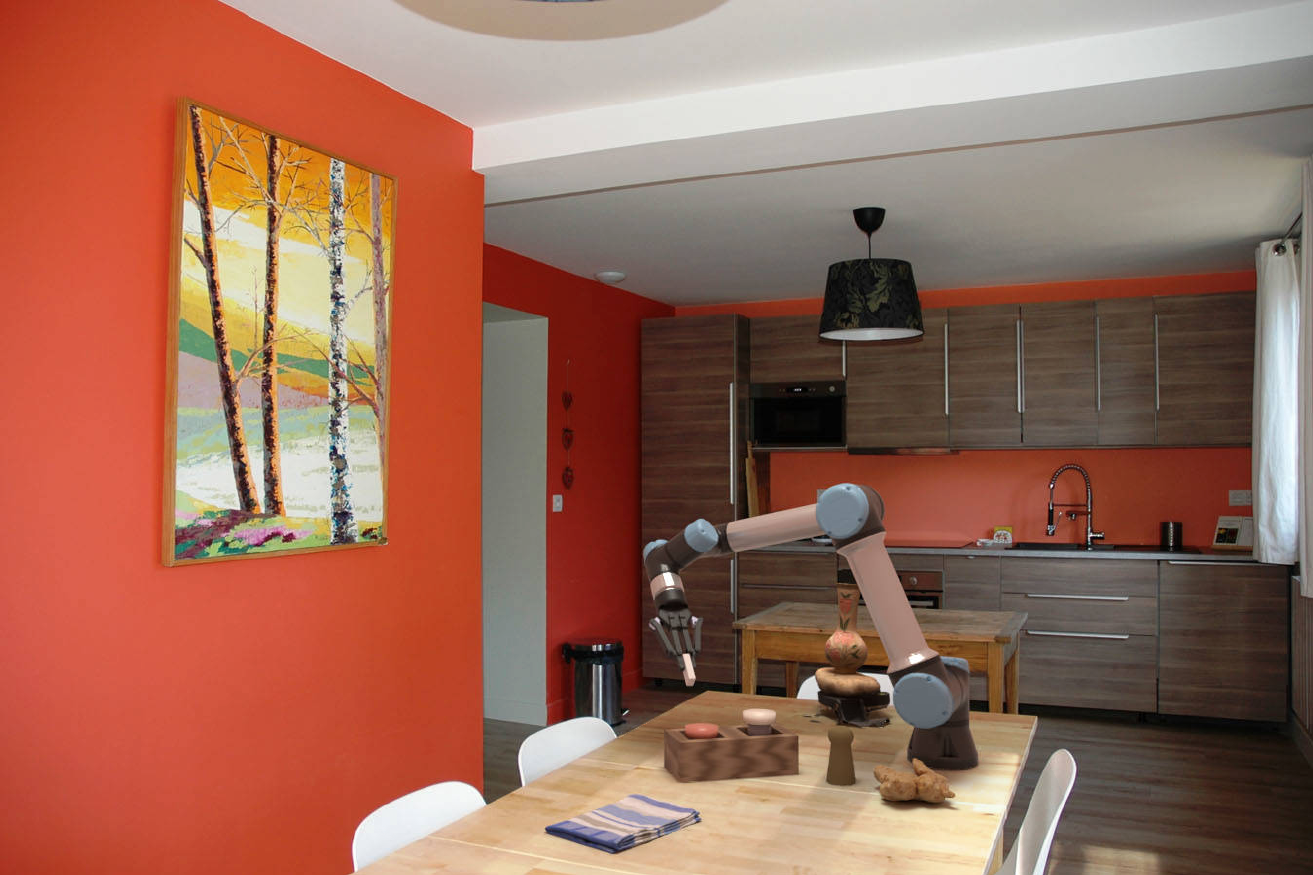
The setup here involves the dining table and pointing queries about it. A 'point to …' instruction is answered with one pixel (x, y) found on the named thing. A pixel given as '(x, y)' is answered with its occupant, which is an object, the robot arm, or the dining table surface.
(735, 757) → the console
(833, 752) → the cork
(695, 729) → the red button
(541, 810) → the dining table surface
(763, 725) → the ivory button
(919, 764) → the ginger root
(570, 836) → the dish towel
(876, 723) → the vase
